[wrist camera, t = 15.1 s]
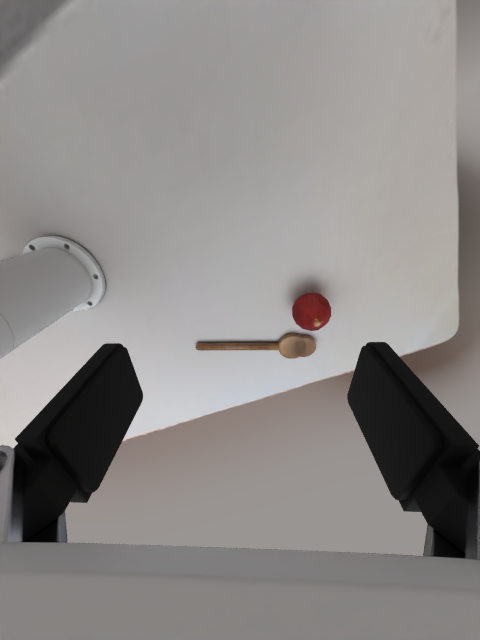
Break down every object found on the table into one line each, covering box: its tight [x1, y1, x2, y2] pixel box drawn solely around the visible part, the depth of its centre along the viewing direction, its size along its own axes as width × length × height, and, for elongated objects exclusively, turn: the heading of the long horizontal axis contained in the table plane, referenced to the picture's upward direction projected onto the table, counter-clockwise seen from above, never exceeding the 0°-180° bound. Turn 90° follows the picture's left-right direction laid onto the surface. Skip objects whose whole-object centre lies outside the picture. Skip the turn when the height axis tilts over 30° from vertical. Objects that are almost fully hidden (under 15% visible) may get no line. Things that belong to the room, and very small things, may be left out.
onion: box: [292, 293, 331, 331], centre depth 35 cm, size 6×6×8 cm
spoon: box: [196, 333, 316, 358], centre depth 43 cm, size 23×5×1 cm, turn 92°
